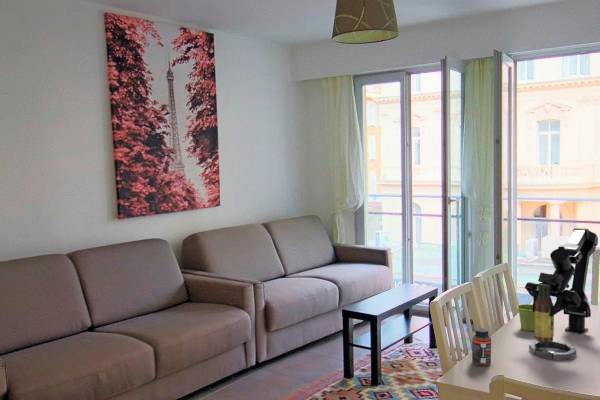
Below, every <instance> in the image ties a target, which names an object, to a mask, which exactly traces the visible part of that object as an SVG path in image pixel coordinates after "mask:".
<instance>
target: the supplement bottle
mask: <svg viewBox="0 0 600 400" xmlns="http://www.w3.org/2000/svg"><path fill="white" fill-rule="evenodd" d="M471 339H472V340H471V343H472V344H471V350H472V351H471V361H472V363H473V364H474V365H477V366H482V367H483V366H484V367H485V366H489V365H491V362H492V360H491V359H492V337H491V336H490V335H489V330H488V329H487V328H484V327H483V328H482V327H481V328H480V327H478V328H476V329H475V334H473V336H472V338H471Z"/></svg>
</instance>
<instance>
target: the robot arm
mask: <svg viewBox="0 0 600 400" xmlns="http://www.w3.org/2000/svg"><path fill="white" fill-rule="evenodd" d="M598 244H599V236H598V235H597V233H596V232H593V231H591V230H589V228H586V227H573V231H572V234H571V235H570V238H569V240H568V241H567V243H563V244H562V245H560V246H558V247H557V249H554V250H553V251H551V252H550V254H549V255H550V260H551V263H552V265H553V268H554V269H555V270H554V272H553V273H546V272H539V276H538V280H537V281H538V282H540V283H548V284H551V289H550V297H554V298H556V300H555V302H554V303H553V308H552V310H551V312H550V314H549V315H550V317H552V316H554V317H555V315H557V314H559V313H560V312H562V311H563V315H568V327H566V328H564V331H566V332H572V333H577V334H584V333H586V332H588V331H589V328H586V319H587V318H591V317H592V316H591V315H592V310H591V305H590V303H589V301H588V300H589V299H588V297H587V295H586V292H585V291H586V283H587V277H588V270H589V263H590V257H591V256H592V254H594V253H595V252H596V247H597V246H598ZM573 265H574V266H573ZM572 277H573V278H572ZM571 279H572V283H571V284H572V285H571V288H570V289H569V287H570V285H569V282H570V281H571ZM538 284H539V283H537V282H532V281H530V282H527V283H526V284H525V286H524V289H525V290H526V291H527V293H528V294H529V295H530V296H531V297H532V299H533V300H532V305H533V309H532V311H533V312H535V302H536V300H537V298H538V297H539V296H538V294H539V289H538Z"/></svg>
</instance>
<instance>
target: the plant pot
mask: <svg viewBox="0 0 600 400" xmlns="http://www.w3.org/2000/svg"><path fill="white" fill-rule="evenodd" d="M516 308H517V312H518V314H519V322H520V328H521V329H522V330H523V331H527V332H531V331H533V332H534V312H533V311H532V309H533V304H525V303H523V304H518V305H517V306H516Z"/></svg>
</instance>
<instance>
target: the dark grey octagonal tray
mask: <svg viewBox="0 0 600 400" xmlns="http://www.w3.org/2000/svg"><path fill="white" fill-rule="evenodd" d="M528 350H529V352H530V353H531V354H533V356H536V357H538V358H541V359H547V360H553V361H567V360H572V359H573V358H575V356H576V355H577V349H576V348H575V347H574V346H573V345H571V344H570V343H567V342H562V341H557V340H554V339H553V341H552V342H539V341H537V340H534V341H533V342H531V343H529V344H528Z"/></svg>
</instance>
